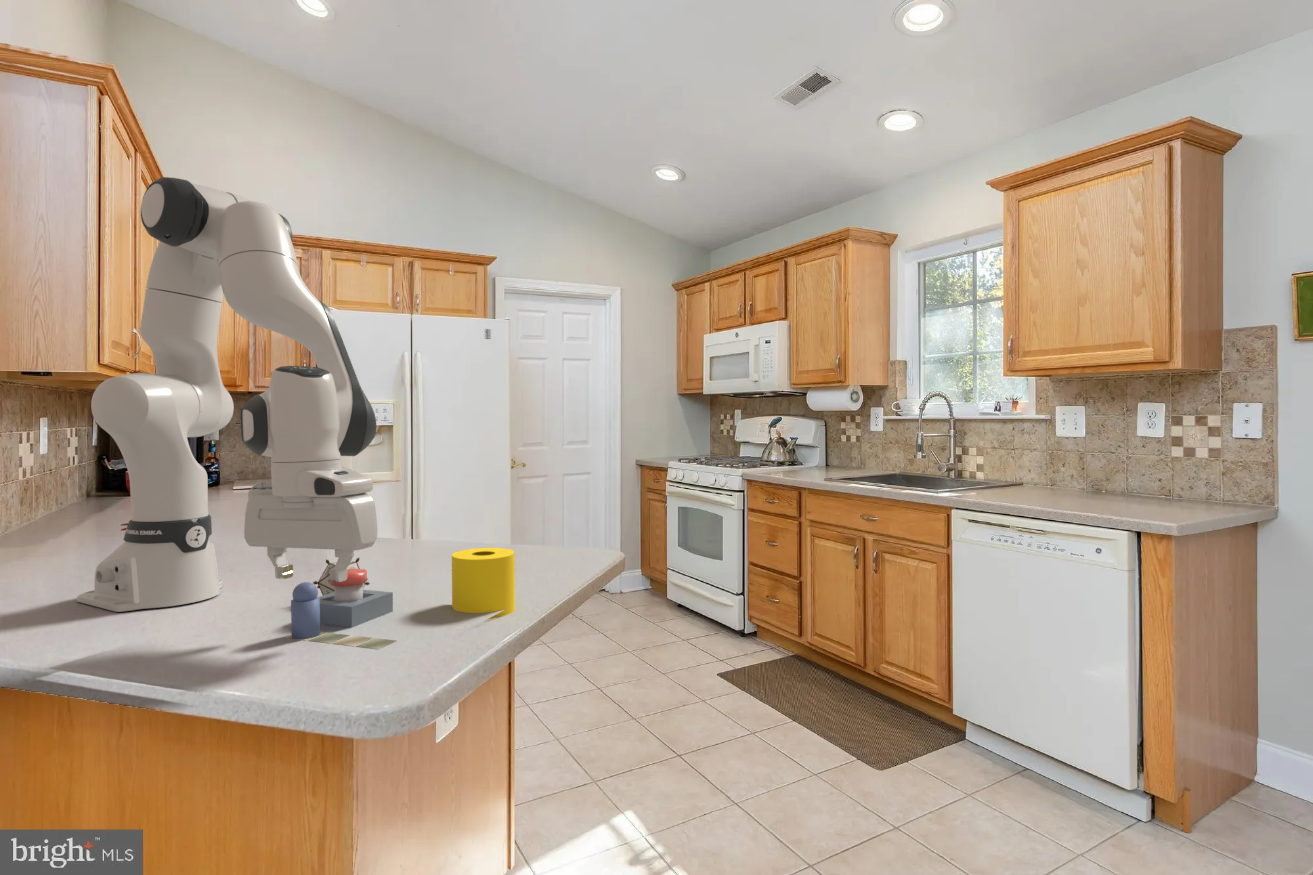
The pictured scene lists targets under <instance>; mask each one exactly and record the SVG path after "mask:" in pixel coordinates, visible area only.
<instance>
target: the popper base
mask: <svg viewBox="0 0 1313 875" xmlns="http://www.w3.org/2000/svg"><path fill="white" fill-rule="evenodd" d="M393 594H394V592H392V591H382V590H371V589H363V599H360V600H357V601H354V602H351V603H347V602H337V601H335V597H334V592H332V593H329V594H326V595H320V596H318V597H319V598H320V625H325V626H335V627H343V628H351V629H352V628H354V627H357V626H359V625H363V624H366V623H367V622H370V621H372V620H375V619H377V618H380V617H382V616H385V615H388V614H390V613H393V612H394V601H393V600H394V595H393Z"/></svg>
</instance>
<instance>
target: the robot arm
mask: <svg viewBox="0 0 1313 875" xmlns="http://www.w3.org/2000/svg"><path fill="white" fill-rule="evenodd" d="M140 218H141V223H142V225H143V227H144V229H145V230H146V232H147V234H148V236H151V238H154V239H155V240H157V241H159V242H158V244H157V247H156V249H155V251H154V254H153V258H152V260H151V264H150V267H149V272H148V275H147V276H148V277H147V281H146V287H145V288H146V289H145V293H144V300H143V305H142V312H141V313H142V314H141V320H140V327H139V332H140V336H141V338H142V340H143V341H144V342H145V343H146V345H147V346H148V347H149V348H150V350H151V353H152V355H153V359H154V365H155V373H149V372H148V373H147V372H134V373H128V374H127V373H126V374H122V375H118V376H113V377H109V378H107V379H105V380H103V382H101V383H100V384H99V385H98V386H97V387H96V388H95V390H94V391H93V394H92V398H91V401H90V404H91V405H90V406H91V414H92V417H93V418H94V421H95V423H96V424H98V426H99V427H100V428H101V429H102V430H103V431H105V432H106V433H107V434H108V435H110V436H111V438H112V439H113V440H114V442H115V443H116V445H117V447H118V449H119V451H120V452H121V455H122V457H123V460H124V463H125V465H126V469H127V473H128V479H129V490H130V491H129V492H130V493H129V494H130V509H131V510H130V511H131V512H130V513H131V514H130V515H131V519H130V520H129V521H128V522H127V523H120V526H126V527H124V528H121V529H120V531H121V532H122V531H125V533H124V536H123V541H124V542H123V543H122V544H120V545H119V546H118V547H117V548H116V549H114V551H113V552H111V553H110V554H109V555H108V556H106V557H105V558H104V559H103V560H102V561H100V563H98V565H97V566H96V568H95V573H94V589H92V590H90V591H89V590H88V591H87V592H84V593H81V594H79V595H77V596H76V602H77V603H80V604H84V605H85V604H86V605H88V606H93V607H96V608H100V609H104V610H108V611H112V612H117V613H119V612H120V613H121V612H129V611H136V610H144V609H157V608H169V607H175V606H181V605H187V604H191V603H193V604H194V603H196V602H202V601H204V600H209V599H211V598H214V597H216V596H218V595H219V594H221V592H222V590H221V588H223V586H224V584H223V580H219V574H218V573H219V572H218V565H217V557H216V550H215V545H214V543H212V541H211V539H210V536H211V535H212V532H213V531H212V530H213V522H212V516H211V514H209V493H208V492H209V491H208V490H209V489H208V488H209V486H208V484H209V483H208V482H209V480H208V473H207V471H206V469H205V467H204V466H202V464H200V463H198V461H197V460H196V458H195V456H194V455H193V452H192V449H191V447H190V444H189V443H190V442H189V440H188V438H199V437H203V436H206V435H210V434H212V433H214V432H219V431H221V430H222V429H223V428H225V427H226V426H227V425H228V424H229V423H230V421H231V420H232V418H233V415H234V410H235V409H234V408H235V407H234V406H235V405H234V400H233V398H232V396H231V394H230V392H229V391H228V390H227V388H226V387H225V385H224V383H223V379H222V377H221V375H222V374H221V372H220V371H221V370H220V365H219V360H218V359H219V358H218V357H219V356H218V338H219V337H218V336H219V329H220V322H221V315H222V307H223V300H224V298H225V301H226V303H227V304H228V306H229V307H230V309H232V311H233V312H234V313H236V314H237V315H239V317H241V318H243V319H244V320H246V321H247V322H248V323H251V325H256V326H257V327H260V328H263V329H265V330H269V331H272V332H275V333H277V334H280V335H282V336H285V337H287V338H289V339H292V340H293V341H295V342H298V343H299V344H301V346H304V347H305V348H306V349H307V350H308V351H309V352H310V353H311V355H312V356H313V359H314V361H315V365H316V366H317V367H315V366H305V365H283V366H279V367H277V368H275V369H273V370H272V372H271V376H270V383H269V386H268V388H267V389H266V390H264V392H262V393H260V394H258V393H257V394H255V395H254V396H252V397H251V398H250V399H248V401H247V402H245V404H243V406H242V407H240V430H241V443H243V444H244V446H246V447H247V448H248V449H249V450H251V451H252V452H253V453H254V454H256V455H258V456H263V457H269V458H271V459H270V472H271V481H264V480H263V481H262V480H261V481H258V482H255V484H253V485H252V486H251V488H250V489H249V491H248V493H247V494H248V501H247V503H246V508H245V514H244V525H243V526H244V527H243V528H244V529H243V530H244V531H243V535H244V540H245V542H246V544H247V545H248V546H249V547H254V548H255V547H257V548H260V547H261V548H266V550H267V551H266V552H267V556H268V558H269V560H270V562H271V564H272V565H273V567H274V577H275V579H277V580H278V579H279V580H280V579H281V580H287V579H291V578H293V576H294V571H293V570H294V565H293V564H291V563H290V564H289V562H288V559H287V558H286V555H285V553H286V552H288V549H313V550H317V549H318V550H334V558H337V561H336V562H335V563H336V566H335V568H333V569H329V571H330V581H333V582H342V581H345V580H346V579H347V567H348V566H349V564H350V562H352V560H353V557H354V555H355V551H360V550H364V549H368V548H371V547H373V546H374V545H375V543H376V541H377V539H378V519H377V517H378V516H377V511H376V510H377V508H376V505H375V504H376V503H375V500H374V499H373V497H372V496H371V495H370V494H368V493H370V492H372V491H373V488H374V481H373V479H372V477H370V476H368V475H365V474H362V473H359V472H357V471H354V470H352V469H349V468H348V467H346V466H342V457H355V456H358V455H359V454H360V453H362V452H363V451H364V450H365V449H366V448H367V447H369V445H370V444H371V443H372V441H373V440H374V439H375V437H376V433H377V418H376V415H375V411H374V409H373V407H372V404H371V403H370V401H369V399H368V398H367V396H366V394H365V393H364V390H363V388H362V386H361V384H360V382H359V379H358V377H357V373H356V371H355V369H354V367H353V364H352V361H351V358H350V356H349V353H348V349H346V348H347V347H346V344H345V343H344V341H343V337H342V335H341V332H340V330H339V327H338V325H337V323H336V321H335V319H334V316H333V314H332V312H331V310H330V308H329V307H328V306H327V304H325V303H324V302H322V301H321V300H319V299H318V298H317V297H316V296H315V295H314V294H313V293H312V292H311V291H310V288H308V287H307V284H305V282H304V280H303V278H302V275H301V273H300V270H299V264H298V259H297V254H296V252H295V248H294V245H293V240H294V239H293V237H294V236H293V232H292V227H291V224H290V222H289V220H288V219H287V218H286V216H283V215H282V214H281V213H279V212H278V211H276V209H274V208H273V207H271V206H269V205H267V204H264V203H262V202H259V201H251V200H250V199H247V198H246V197H245V198H244V197H242V196H240V195H237V194H235V193H231V192H228V191H227V192H225V191H222V190H219V189H215V188H212V187H208V186H203V185H200V184H195V183H192V182H190V181H189V180H187V179H183V178H178V177H177V178H176V177H169V176H166V177H165V176H164V177H163V176H162V177H160V178H158V179H155V180H154V181H152V182H151V183H150V184H149V185H148V186H147V188H146V190H145V191H144V194H143V197H142V201H141V205H140ZM287 548H288V549H287Z"/></svg>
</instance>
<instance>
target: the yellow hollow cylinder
mask: <svg viewBox="0 0 1313 875" xmlns="http://www.w3.org/2000/svg"><path fill="white" fill-rule="evenodd" d="M515 557H516V554H515V551H514V550H513V549H510V548H504V547H481V548H480V547H477V548H469V549H462V550H458V551H456V552H453V553H452V554H451V602H452V603H451V606H452V607H451V608H452V610H454V611H457V612H460V613H467V614H485V613H493V612H494V613H495V612H499V611H500V612H499V613H496V614H495V615H492V616H491V617H489V618H488V619H495V618H500V617H501V618H502V617H505V616H508V615H511V614H512V613H514V612H515V610H516V567H515V566H516V561H515V560H516V558H515Z"/></svg>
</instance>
